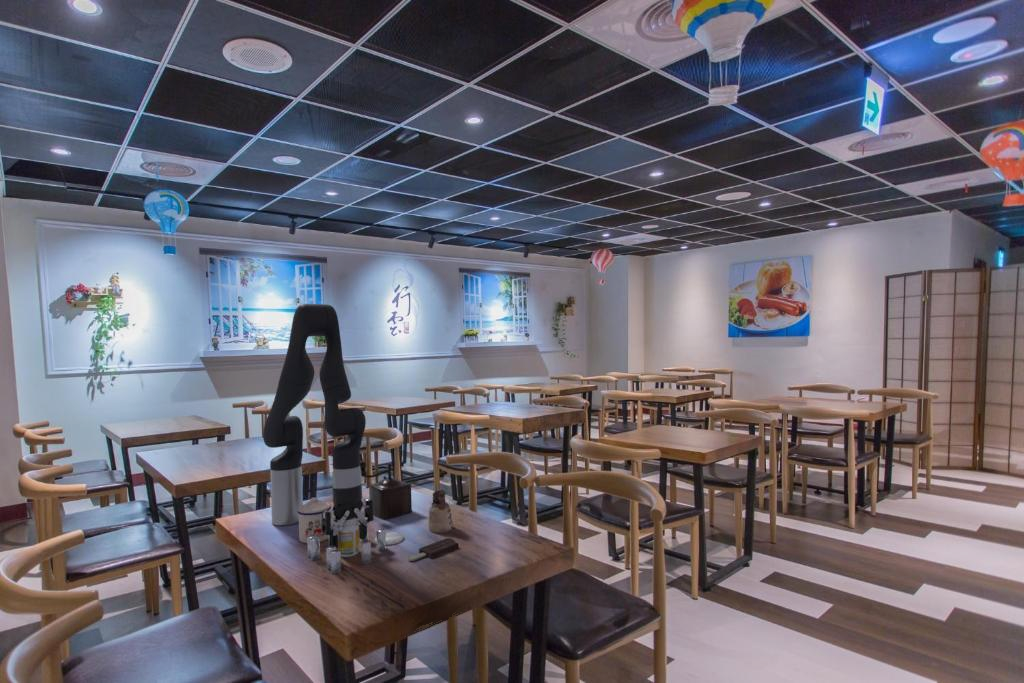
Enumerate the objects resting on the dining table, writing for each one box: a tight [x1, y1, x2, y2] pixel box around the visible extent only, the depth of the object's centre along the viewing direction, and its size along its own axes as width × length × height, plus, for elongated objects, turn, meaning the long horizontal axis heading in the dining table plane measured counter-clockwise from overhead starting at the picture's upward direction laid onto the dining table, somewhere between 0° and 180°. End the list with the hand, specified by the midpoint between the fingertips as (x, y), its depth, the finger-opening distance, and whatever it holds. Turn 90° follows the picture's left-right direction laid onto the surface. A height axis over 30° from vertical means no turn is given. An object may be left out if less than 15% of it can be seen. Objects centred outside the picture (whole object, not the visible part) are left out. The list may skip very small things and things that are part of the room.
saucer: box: [374, 531, 404, 546], centre depth 151 cm, size 8×8×1 cm
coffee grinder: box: [360, 460, 413, 521], centre depth 173 cm, size 16×11×18 cm
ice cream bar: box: [408, 537, 460, 562], centre depth 141 cm, size 5×2×15 cm
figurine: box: [428, 488, 453, 534], centre depth 159 cm, size 7×7×12 cm
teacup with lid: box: [298, 497, 339, 544], centre depth 155 cm, size 12×9×12 cm
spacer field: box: [306, 523, 387, 575], centre depth 142 cm, size 19×18×5 cm
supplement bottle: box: [337, 518, 360, 558], centre depth 142 cm, size 5×5×10 cm
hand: (348, 543), depth 142 cm, fingers open, 8 cm apart
